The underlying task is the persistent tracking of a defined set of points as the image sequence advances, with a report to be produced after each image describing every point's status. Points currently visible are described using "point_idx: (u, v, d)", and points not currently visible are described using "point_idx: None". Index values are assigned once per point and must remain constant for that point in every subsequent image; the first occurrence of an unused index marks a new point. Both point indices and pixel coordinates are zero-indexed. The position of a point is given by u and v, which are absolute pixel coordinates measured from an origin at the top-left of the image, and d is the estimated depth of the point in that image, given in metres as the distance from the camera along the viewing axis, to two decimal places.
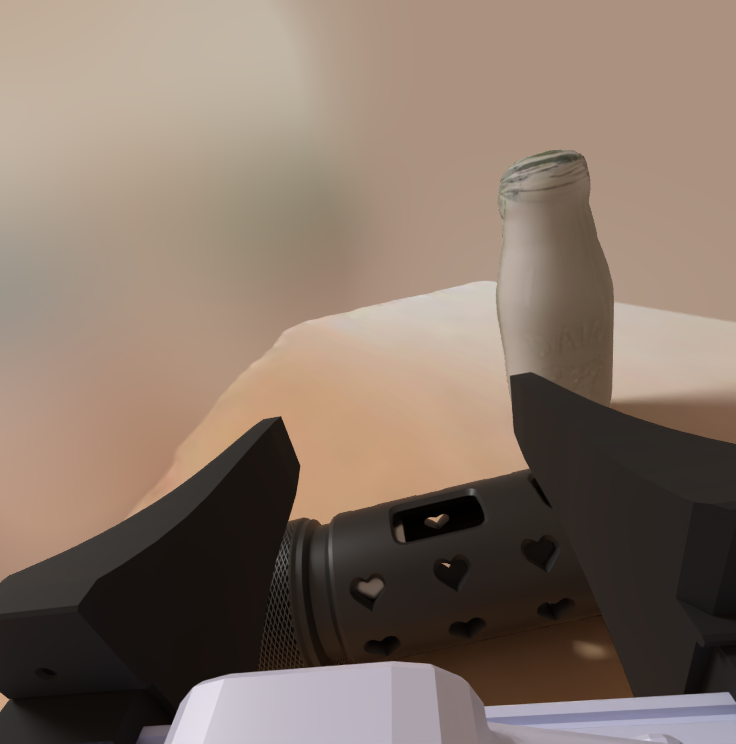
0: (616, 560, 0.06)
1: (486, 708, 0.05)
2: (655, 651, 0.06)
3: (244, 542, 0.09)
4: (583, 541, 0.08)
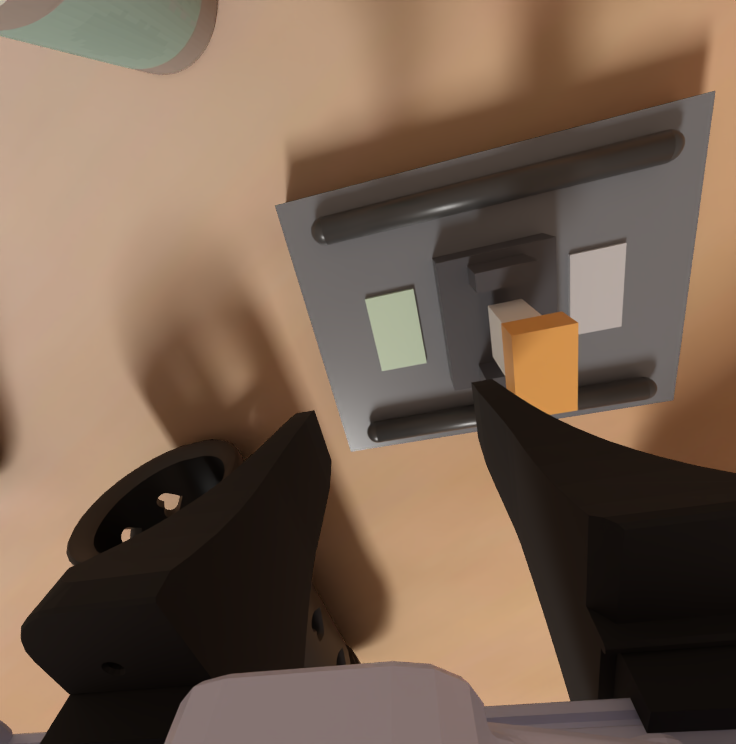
0: (549, 567, 0.07)
1: (486, 708, 0.05)
2: (578, 657, 0.06)
3: (288, 536, 0.09)
4: (529, 547, 0.08)
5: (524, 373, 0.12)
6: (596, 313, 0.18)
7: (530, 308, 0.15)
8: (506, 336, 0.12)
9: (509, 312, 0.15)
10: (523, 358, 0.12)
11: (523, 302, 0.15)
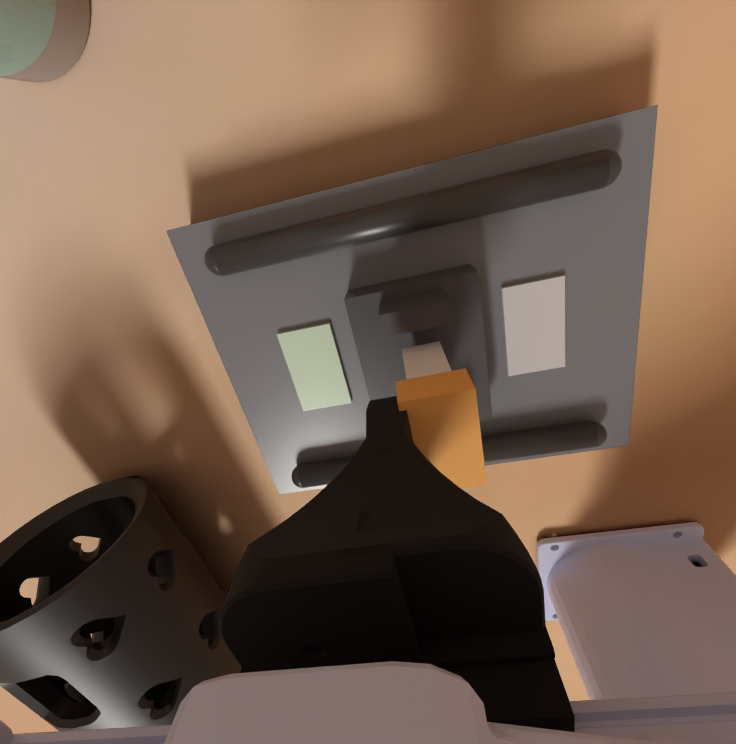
0: None
1: None
2: None
3: None
4: None
5: (419, 444, 0.10)
6: (536, 352, 0.16)
7: (442, 356, 0.12)
8: None
9: (419, 361, 0.13)
10: (415, 427, 0.10)
11: (439, 346, 0.13)
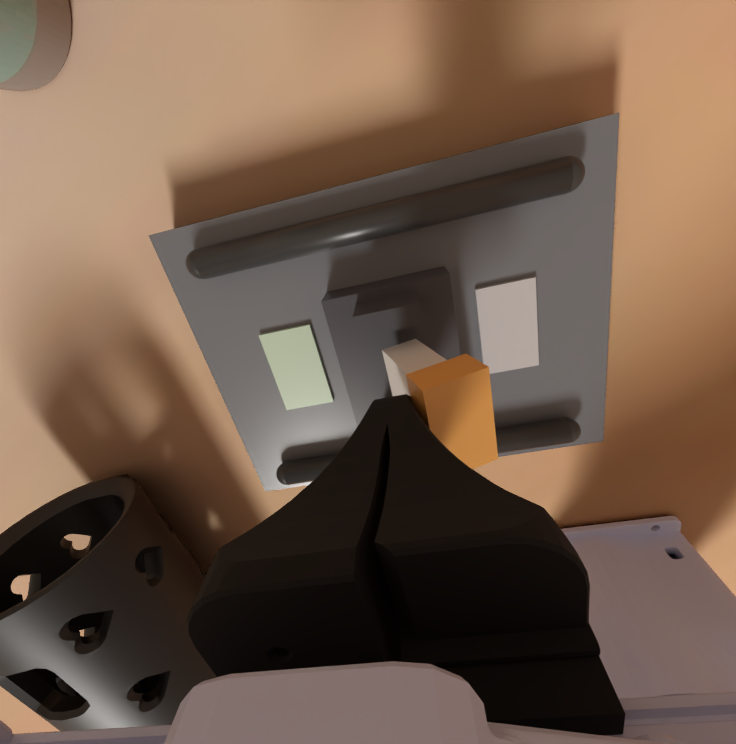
0: None
1: None
2: None
3: None
4: None
5: (441, 430, 0.11)
6: (510, 351, 0.17)
7: (428, 350, 0.13)
8: (415, 390, 0.11)
9: (408, 357, 0.13)
10: (438, 413, 0.10)
11: (418, 343, 0.14)
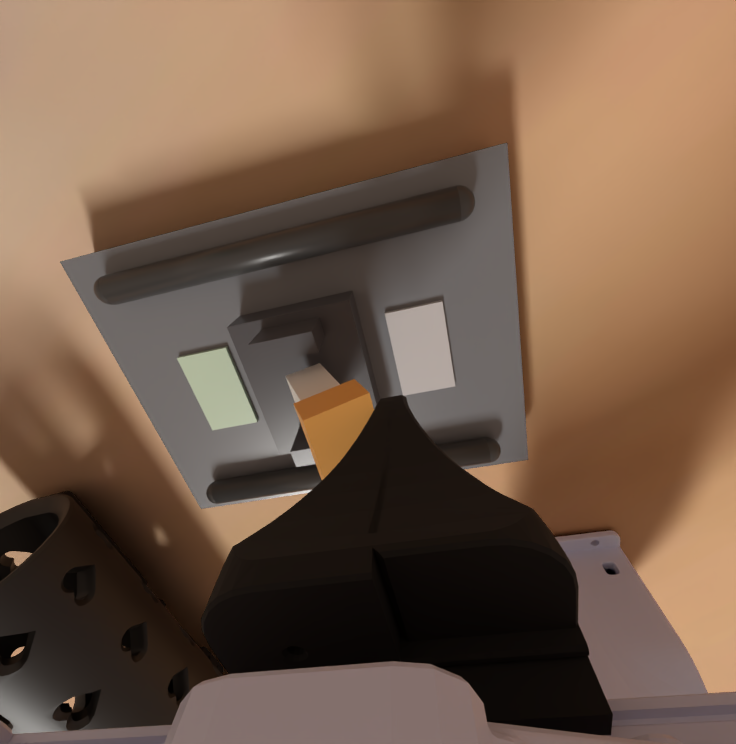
0: None
1: None
2: None
3: None
4: None
5: (328, 456, 0.11)
6: (426, 373, 0.17)
7: (327, 374, 0.13)
8: (300, 419, 0.11)
9: (306, 383, 0.13)
10: (323, 441, 0.10)
11: (321, 367, 0.14)
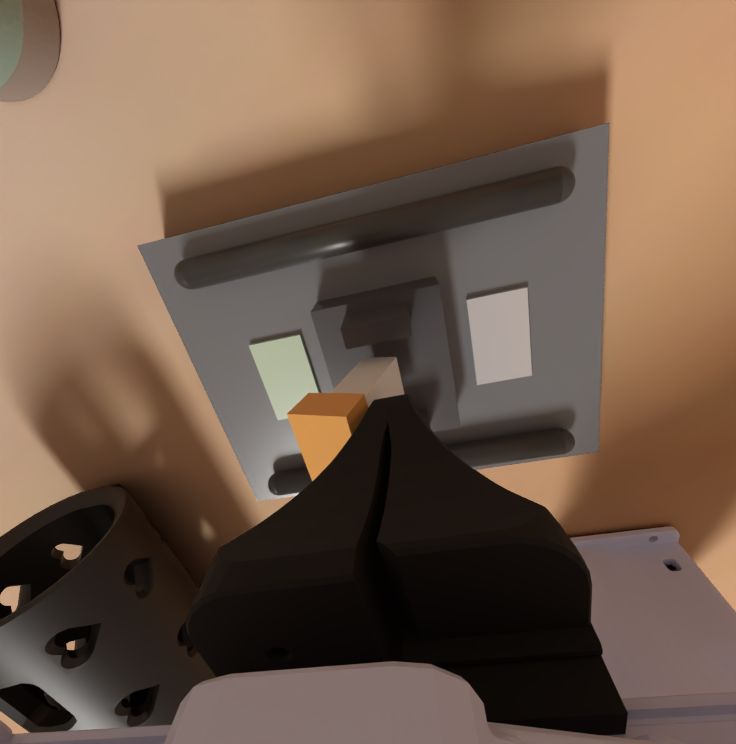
0: None
1: None
2: None
3: None
4: None
5: (310, 453, 0.11)
6: (503, 361, 0.16)
7: (380, 374, 0.13)
8: None
9: (359, 374, 0.13)
10: (304, 438, 0.11)
11: (389, 362, 0.13)
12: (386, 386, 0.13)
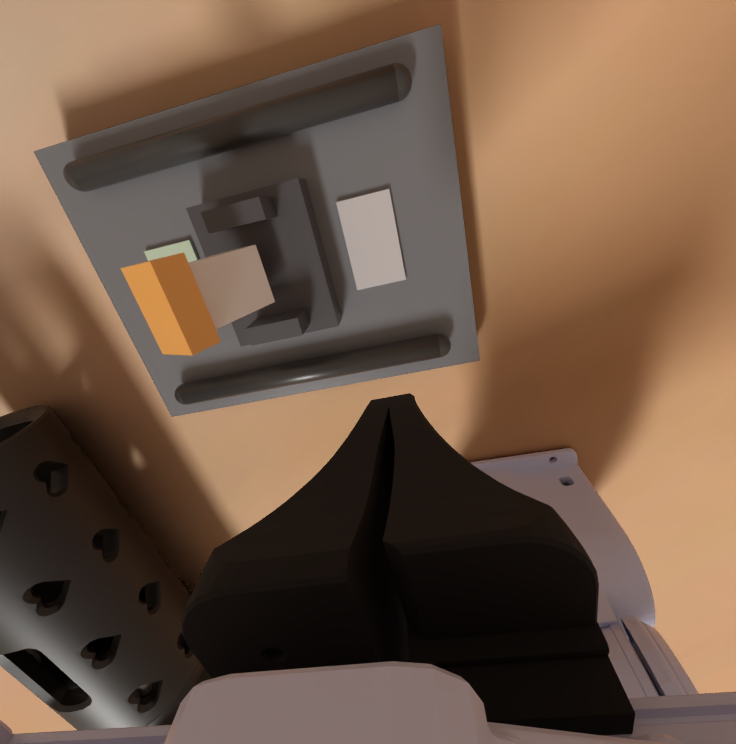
0: None
1: None
2: None
3: None
4: None
5: (144, 307, 0.13)
6: (377, 265, 0.18)
7: (227, 252, 0.14)
8: None
9: (214, 255, 0.15)
10: (137, 292, 0.13)
11: (245, 247, 0.15)
12: (235, 265, 0.14)
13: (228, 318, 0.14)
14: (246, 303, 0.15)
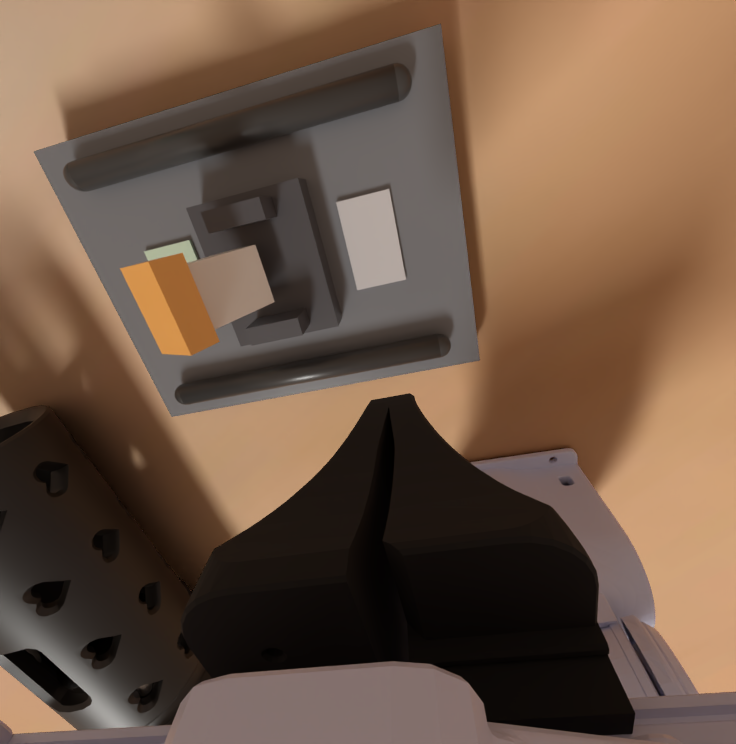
0: None
1: None
2: None
3: None
4: None
5: (143, 307, 0.13)
6: (377, 265, 0.18)
7: (226, 252, 0.14)
8: None
9: (214, 255, 0.15)
10: (136, 292, 0.13)
11: (244, 247, 0.15)
12: (234, 265, 0.14)
13: (227, 318, 0.14)
14: (245, 303, 0.15)
